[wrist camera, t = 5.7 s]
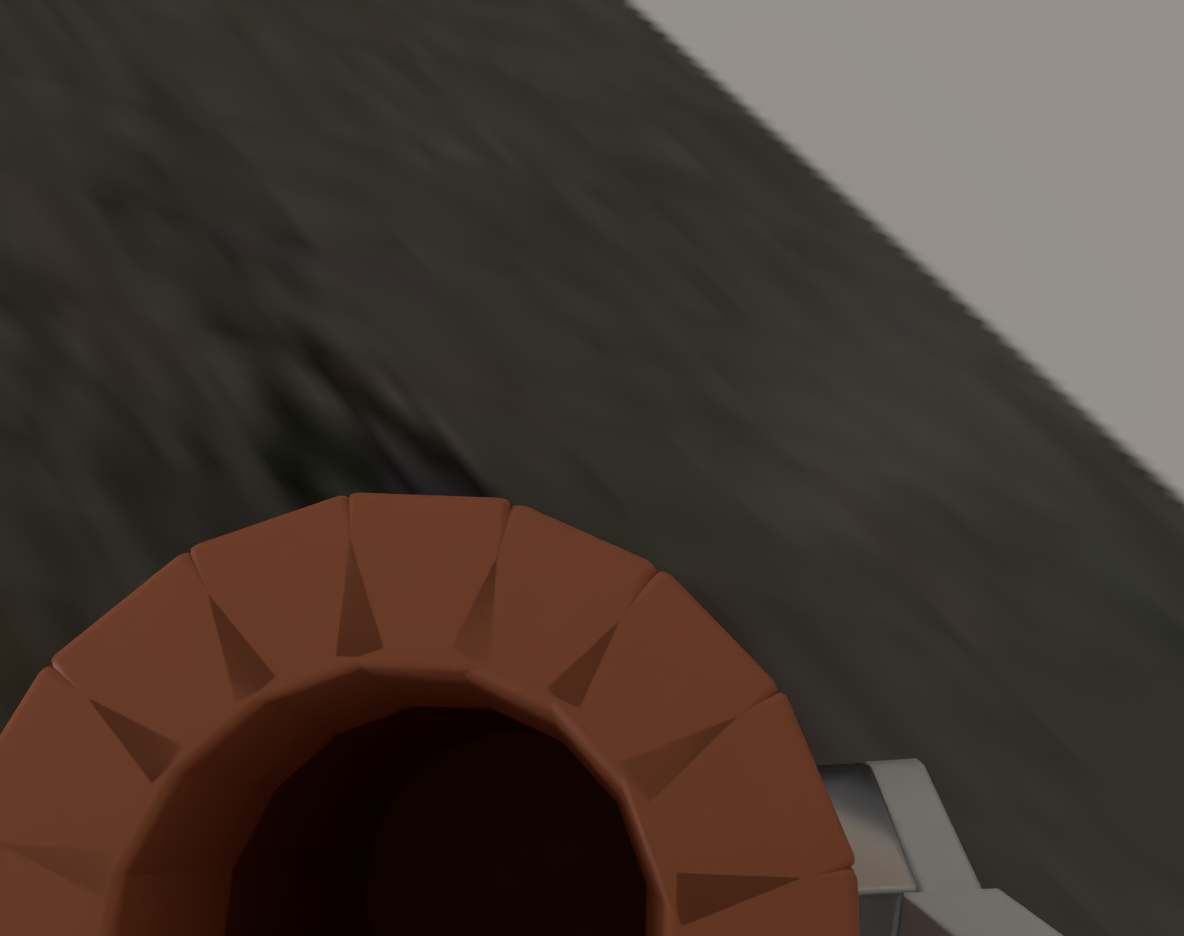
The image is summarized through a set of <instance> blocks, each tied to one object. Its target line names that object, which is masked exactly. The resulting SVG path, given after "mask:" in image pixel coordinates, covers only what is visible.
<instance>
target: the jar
mask: <svg viewBox="0 0 1184 936" xmlns="http://www.w3.org/2000/svg"><path fill="white" fill-rule="evenodd" d="M51 661H52V665H53V666H47V667H45V668H44V669H43V670H42V671H41V672H40V673H39V674H38V675H37V677H36V679H35V680H34V682H33V683H32V685H31V687H30V688H29V690H28V691H27V693H26V695H25V696H24V698H23V699H22V701H21V703H20V704H19V706H18V707H17V709H16V711H15V712H14V714H13V715H12V717H11V718H10V720H9V722H8V723H7V725H6V726H5V728H4V730H3V731H2V733H1V734H0V936H860V925H859V900H858V879H857V877H856V875H855V872H854V870H853V869H852V868H851V866H852V865H853V864H854V863H855V858H854V854H853V851H852V849H851V846H850V844H849V842H848V839H847V837H846V835H845V832H844V830H843V828H842V825H841V823H840V820H839V818H838V816H837V813H836V811H835V809H834V806H833V804H832V802H831V799H830V797H829V794H828V792H827V790H826V787H825V785H824V783H823V780H822V778H821V776H820V773H819V771H818V768H817V766H816V764H815V761H814V759H813V757H812V754H811V752H810V750H809V747H808V745H807V743H806V740H805V738H804V735H803V733H802V731H801V728H800V726H799V724H798V721H797V719H796V717H795V714H794V712H793V709H792V707H791V705H790V702H789V700H788V698H787V697H786V696H785V695H784V694H783V693H777V691H778V689H777V687H776V684H775V682H774V680H773V679H772V678H771V677H770V676H769V675H768V674H767V673H766V672H765V671H764V670H763V669H762V668H761V667H760V666H759V665H758V664H757V663H756V662H755V661H754V660H753V659H752V658H751V657H750V656H749V654H748V653H747V652H746V651H745V650H744V649H743V648H742V647H741V646H740V645H739V644H738V643H737V642H736V641H735V640H734V639H733V638H732V637H731V636H730V635H729V634H728V633H727V632H726V631H725V630H724V629H723V628H722V627H721V626H720V625H719V624H718V623H717V622H716V621H715V620H714V618H713V617H712V616H711V615H710V614H709V613H708V612H707V611H706V610H705V609H704V608H703V607H702V606H701V605H700V604H699V603H698V602H697V601H696V600H695V599H694V598H693V597H692V596H691V595H690V594H689V593H688V592H687V591H686V590H685V589H684V588H683V587H682V586H681V585H680V584H679V582H678V581H677V580H676V579H675V578H674V577H673V576H672V575H670V574H668V573H666V572H663V571H661V572H658V573H656V568H655V567H654V566H653V565H652V564H651V563H650V562H649V561H648V560H646V559H644V558H642V557H640V556H637V555H635V554H633V553H631V552H628V551H626V550H624V549H622V548H619V547H617V546H615V545H613V544H610V543H608V542H606V541H604V540H601V539H599V538H597V537H595V536H592V535H590V534H588V533H586V532H583V531H581V530H579V529H577V528H574V527H572V526H570V525H568V524H565V523H563V522H561V521H559V520H556V519H554V518H552V517H550V516H547V515H545V514H543V513H541V512H538V511H536V510H534V509H532V508H529V507H527V506H517V505H514V506H513V507H512V508H511V506H510V503H509V501H508V500H506V499H504V498H492V497H465V496H437V495H410V494H382V493H354V494H351V495H350V497H349V498H348V497H347V496H337V497H334V498H331V499H328V500H325V501H322V502H319V503H316V504H313V505H310V506H307V507H305V508H302V509H299V510H296V511H293V512H290V513H287V514H284V515H281V516H278V517H275V518H272V519H269V520H267V521H264V522H261V523H258V524H255V525H252V526H249V527H246V528H243V529H240V530H237V531H234V532H232V533H229V534H226V535H223V536H220V537H217V538H214V539H211V540H208V541H205V542H202V543H199V544H197V545H195V546H194V547H192V548H191V554H190V553H183V554H181V555H179V556H177V557H176V558H175V559H173V560H172V561H171V562H170V563H168V564H167V565H166V566H165V567H163V568H162V569H161V570H160V571H158V572H157V573H156V574H155V575H153V576H152V577H151V578H150V579H148V580H147V581H146V582H145V583H144V584H142V585H141V586H140V587H139V588H137V589H136V590H135V591H134V592H132V593H131V594H130V595H129V596H127V597H126V598H125V599H124V600H122V601H121V602H120V603H119V604H117V605H116V606H115V607H114V608H112V609H111V610H110V611H109V612H107V613H106V614H105V615H104V616H102V617H101V618H100V619H99V620H98V621H96V622H95V623H94V624H93V625H91V626H90V627H89V628H88V629H86V630H85V631H84V632H83V633H81V634H80V635H79V636H78V637H76V638H75V639H74V640H73V641H71V642H70V643H69V644H68V645H66V646H65V647H64V648H63V649H61V650H60V651H59V652H58V653H56V654H55V656H54V657H53V659H52V660H51Z"/></svg>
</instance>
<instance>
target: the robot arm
mask: <svg viewBox="0 0 1184 936" xmlns="http://www.w3.org/2000/svg"><path fill="white" fill-rule="evenodd" d="M816 766H817V768H818V771H819V773H820V776H821V778H822V780H823V783H824V785H825V787H826V790H827V792H828V794H829V797H830V799H831V802H832V804H833V806H834V809H835V811H836V813H837V816H838V818H839V820H840V823H841V825H842V828H843V830H844V832H845V835H846V837H847V839H848V842H849V844H850V846H851V849H852V851H853V854H854V858H855V863H854V864H853V865H852V866H851V868H852V869H853V870H854V872H855V875H856V877H857V879H858V900H859V925H860V936H1063V935H1062V934H1060V933H1059V932H1058V931H1056V930H1055V929H1053V928H1052V927H1051V926H1049V925H1048V924H1047V923H1045V922H1044V921H1042V920H1041V919H1040V918H1038V917H1037V916H1036V915H1034V914H1033V913H1031V912H1030V911H1029V910H1027V909H1026V908H1025V907H1023V906H1022V905H1020V904H1019V903H1018V902H1016V901H1015V900H1014V899H1012V898H1011V897H1009V896H1008V895H1007V894H1005V893H1004V892H1002V891H1001V890H1000V889H998V888H995V889H982V888H981V886H980V883H979V881H978V879H977V877H976V875H975V873H974V871H973V868H972V866H971V864H970V862H969V860H968V858H967V856H966V853H965V851H964V849H963V847H962V845H961V843H960V841H959V838H958V836H957V834H956V832H955V830H954V828H953V826H952V823H951V821H950V819H949V817H948V815H947V813H946V811H945V808H944V806H943V804H942V802H941V800H940V798H939V796H938V793H937V791H936V789H935V787H934V785H933V783H932V781H931V778H930V776H929V774H928V772H927V770H926V768H925V766H924V764H922V763H921V762H920V761H919V760H918V759H916V758H913V759H898V760H884V761H869V762H865V763H864V764H863V763H849V764H833V765H816Z"/></svg>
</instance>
